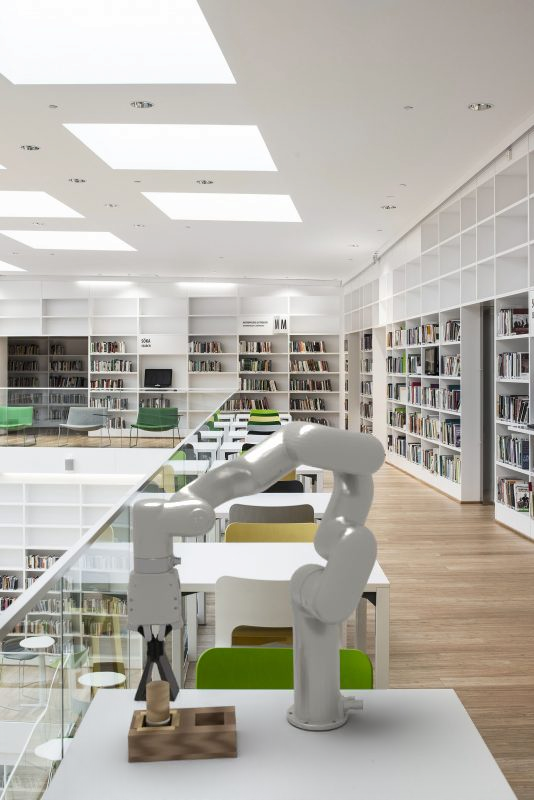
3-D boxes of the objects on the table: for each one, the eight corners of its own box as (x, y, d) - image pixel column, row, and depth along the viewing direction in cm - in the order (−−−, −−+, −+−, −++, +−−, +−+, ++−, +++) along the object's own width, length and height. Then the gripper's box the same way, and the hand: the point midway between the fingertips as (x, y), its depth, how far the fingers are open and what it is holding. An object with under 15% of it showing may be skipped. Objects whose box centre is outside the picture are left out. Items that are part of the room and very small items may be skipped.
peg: (170, 735, 153) (170, 679, 153) (169, 746, 149) (169, 689, 148) (147, 736, 153) (146, 680, 153) (145, 747, 148) (145, 689, 148)
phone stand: (179, 690, 178) (178, 637, 177) (174, 701, 172) (173, 647, 171) (140, 689, 178) (139, 637, 178) (134, 700, 172) (132, 646, 172)
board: (235, 730, 157) (234, 704, 157) (236, 757, 146) (236, 729, 146) (134, 735, 156) (134, 709, 156) (128, 762, 145) (127, 734, 145)
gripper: (193, 558, 154) (195, 651, 154) (116, 560, 153) (118, 654, 153) (192, 567, 146) (194, 665, 147) (111, 570, 145) (113, 668, 146)
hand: (155, 659), depth 150 cm, fingers closed
